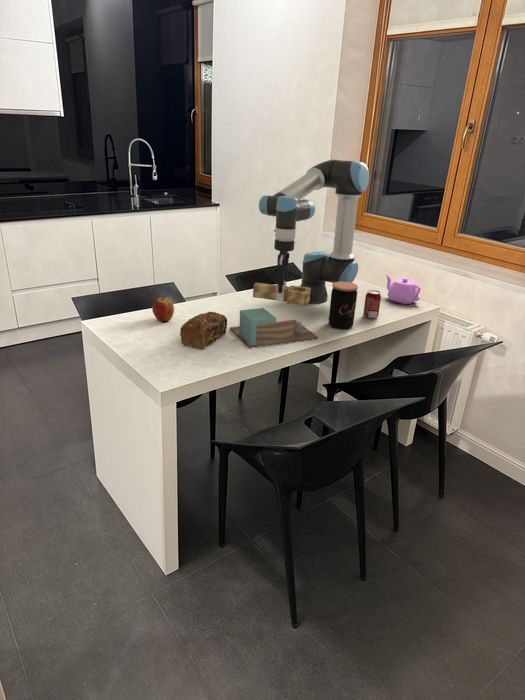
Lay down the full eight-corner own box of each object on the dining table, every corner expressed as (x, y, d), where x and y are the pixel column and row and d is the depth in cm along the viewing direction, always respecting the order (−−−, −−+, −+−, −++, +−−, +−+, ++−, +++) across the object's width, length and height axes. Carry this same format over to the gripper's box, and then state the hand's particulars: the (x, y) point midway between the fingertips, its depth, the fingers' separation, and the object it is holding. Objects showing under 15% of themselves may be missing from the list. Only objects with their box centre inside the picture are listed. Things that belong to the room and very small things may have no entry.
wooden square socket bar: (251, 298, 194) (252, 286, 192) (255, 293, 201) (256, 281, 199) (307, 305, 190) (308, 293, 188) (309, 299, 198) (310, 287, 196)
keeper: (239, 336, 196) (239, 310, 192) (262, 333, 200) (263, 307, 196) (250, 348, 186) (251, 320, 182) (274, 344, 190) (276, 318, 186)
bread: (202, 351, 182) (202, 326, 178) (178, 345, 187) (178, 320, 183) (228, 335, 198) (228, 311, 194) (205, 329, 202) (205, 306, 198)
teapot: (424, 302, 247) (428, 279, 242) (411, 308, 238) (416, 284, 233) (388, 293, 259) (391, 271, 254) (375, 298, 250) (378, 275, 245)
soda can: (378, 320, 220) (381, 294, 215) (362, 318, 221) (366, 293, 217) (377, 315, 226) (381, 290, 221) (362, 313, 228) (366, 288, 223)
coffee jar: (337, 331, 206) (342, 290, 198) (323, 323, 214) (327, 282, 207) (358, 328, 211) (363, 287, 203) (343, 319, 219) (347, 280, 212)
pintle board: (229, 329, 203) (230, 316, 200) (294, 321, 214) (295, 309, 212) (248, 348, 186) (248, 335, 184) (317, 338, 198) (318, 326, 195)
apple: (148, 320, 208) (147, 297, 204) (165, 315, 215) (165, 293, 210) (161, 326, 203) (160, 302, 199) (179, 321, 209) (178, 298, 205)
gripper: (278, 234, 194) (275, 291, 204) (270, 242, 179) (267, 304, 189) (297, 235, 193) (293, 293, 203) (291, 244, 178) (286, 306, 187)
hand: (280, 298), depth 196 cm, fingers closed on wooden square socket bar, 4 cm apart
